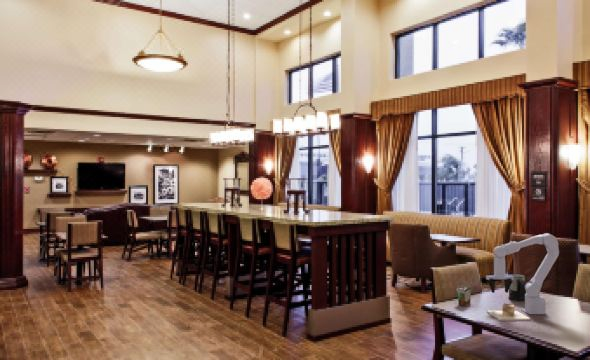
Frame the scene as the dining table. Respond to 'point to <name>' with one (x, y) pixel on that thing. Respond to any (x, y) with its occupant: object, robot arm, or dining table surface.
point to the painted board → (516, 317)
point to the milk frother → (517, 288)
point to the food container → (464, 295)
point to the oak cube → (508, 309)
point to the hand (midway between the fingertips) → (499, 292)
